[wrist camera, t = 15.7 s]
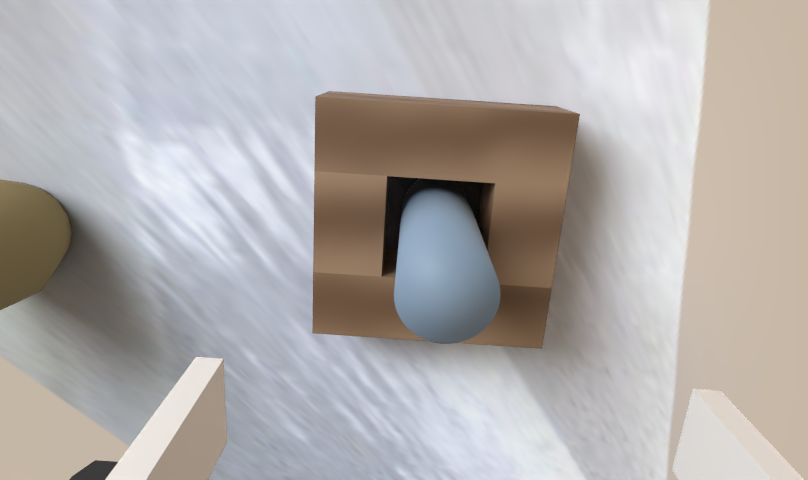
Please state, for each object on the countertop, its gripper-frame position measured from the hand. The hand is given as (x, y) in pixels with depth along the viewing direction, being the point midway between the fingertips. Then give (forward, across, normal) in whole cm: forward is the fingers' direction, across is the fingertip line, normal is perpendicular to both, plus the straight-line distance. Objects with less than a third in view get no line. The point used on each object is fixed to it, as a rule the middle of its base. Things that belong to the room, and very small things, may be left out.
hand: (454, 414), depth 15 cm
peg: (+22, 0, 0) cm, 22 cm away
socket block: (+22, 0, 0) cm, 22 cm away
